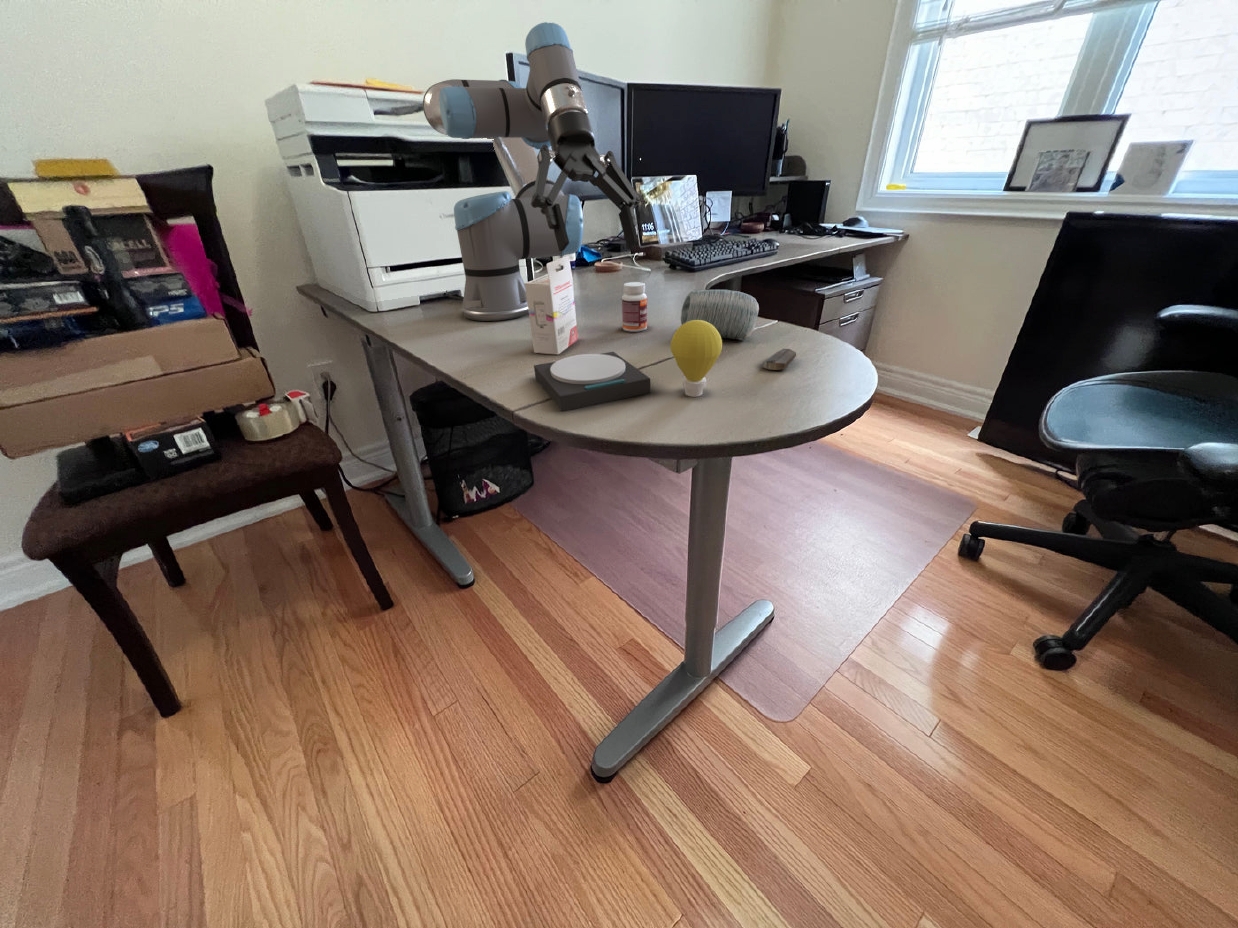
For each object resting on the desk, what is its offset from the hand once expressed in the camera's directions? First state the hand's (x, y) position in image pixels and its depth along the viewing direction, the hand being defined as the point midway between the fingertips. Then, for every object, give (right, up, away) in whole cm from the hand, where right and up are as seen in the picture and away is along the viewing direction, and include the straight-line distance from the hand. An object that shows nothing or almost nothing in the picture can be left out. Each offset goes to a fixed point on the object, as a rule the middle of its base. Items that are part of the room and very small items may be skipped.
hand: (600, 246), depth 84 cm
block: (+28, -22, -8) cm, 36 cm away
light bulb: (+14, -28, -16) cm, 35 cm away
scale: (-1, -26, -12) cm, 29 cm away
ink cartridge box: (-8, -16, +4) cm, 19 cm away
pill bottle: (+6, -11, +12) cm, 17 cm away
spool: (+21, -14, +6) cm, 26 cm away
